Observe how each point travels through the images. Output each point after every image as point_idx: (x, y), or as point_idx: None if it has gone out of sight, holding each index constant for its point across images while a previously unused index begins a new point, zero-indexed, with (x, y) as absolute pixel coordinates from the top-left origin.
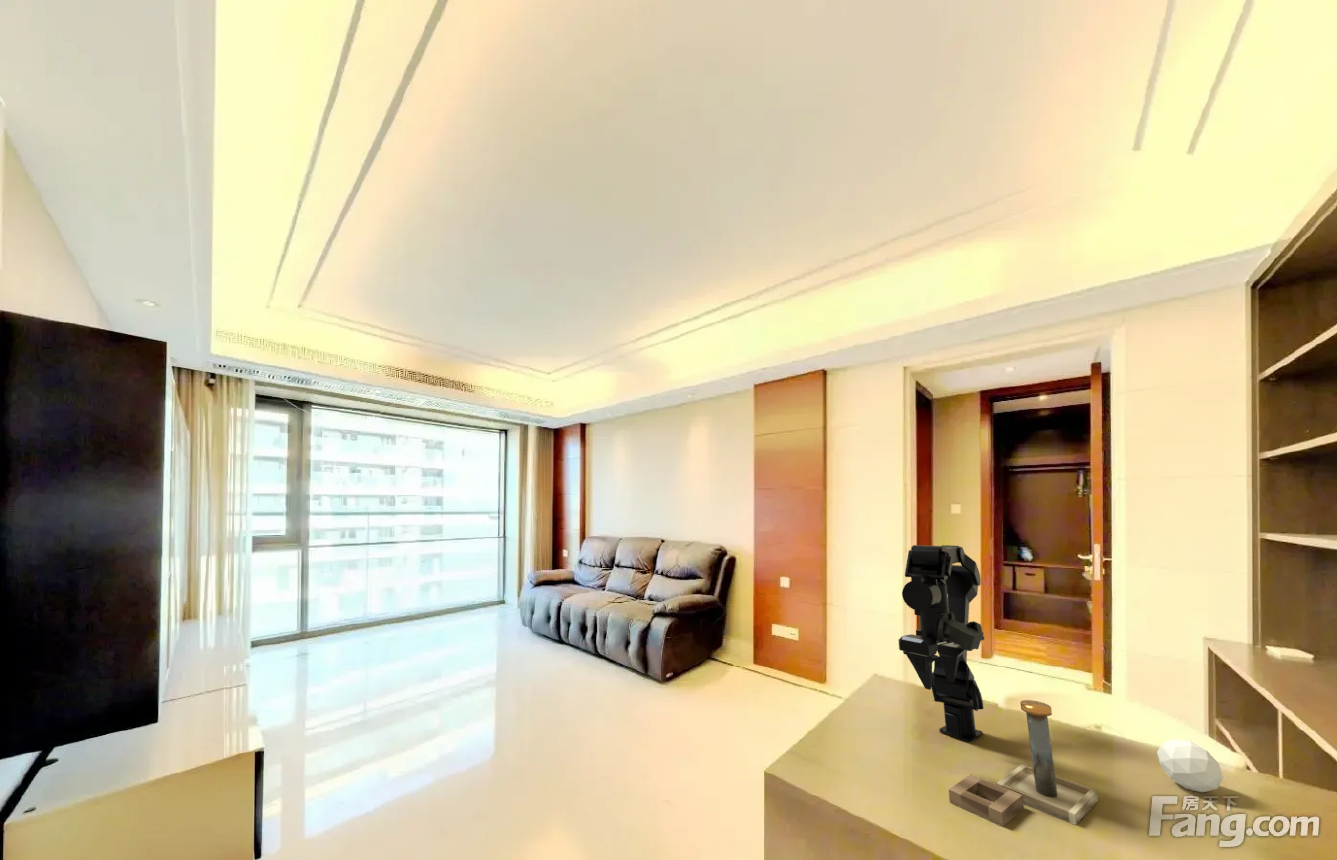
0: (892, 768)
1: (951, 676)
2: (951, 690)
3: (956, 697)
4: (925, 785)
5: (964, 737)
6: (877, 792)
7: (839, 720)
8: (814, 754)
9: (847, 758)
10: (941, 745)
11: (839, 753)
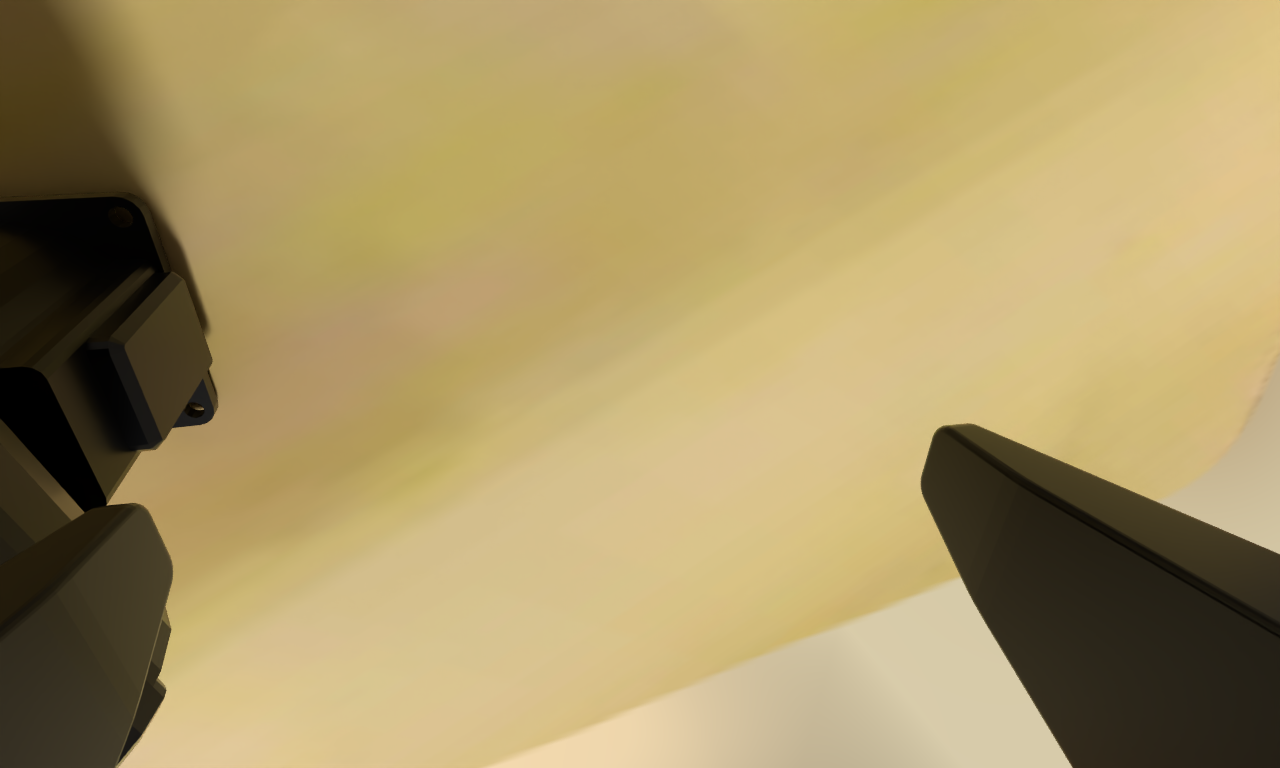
0: (912, 278)
1: (95, 604)
2: (34, 517)
3: (12, 434)
4: (983, 60)
5: (130, 247)
6: (1175, 178)
7: (622, 695)
8: None
9: None
10: (399, 290)
11: None
